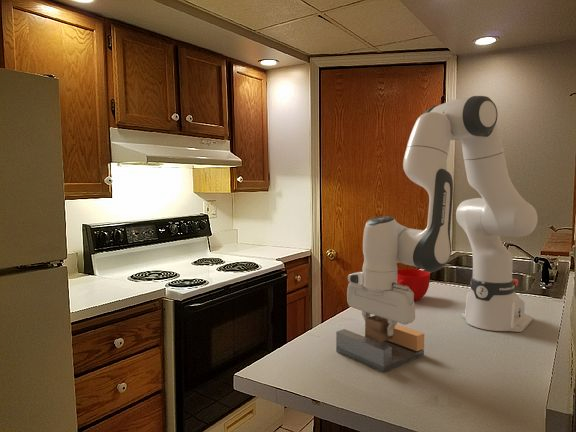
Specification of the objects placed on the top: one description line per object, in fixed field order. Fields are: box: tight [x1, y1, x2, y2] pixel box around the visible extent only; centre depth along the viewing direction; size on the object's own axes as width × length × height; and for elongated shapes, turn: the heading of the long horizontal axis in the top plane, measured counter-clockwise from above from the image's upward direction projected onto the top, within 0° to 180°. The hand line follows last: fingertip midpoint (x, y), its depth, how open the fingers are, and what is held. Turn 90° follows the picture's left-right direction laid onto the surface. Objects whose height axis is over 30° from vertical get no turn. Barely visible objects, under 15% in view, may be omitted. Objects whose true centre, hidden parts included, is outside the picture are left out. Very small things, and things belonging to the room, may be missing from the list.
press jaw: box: [388, 323, 425, 351], centre depth 117 cm, size 3×16×4 cm, turn 38°
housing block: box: [364, 315, 393, 342], centre depth 113 cm, size 5×5×5 cm
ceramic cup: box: [397, 268, 431, 302], centre depth 161 cm, size 13×17×10 cm
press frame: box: [335, 328, 425, 374], centre depth 113 cm, size 16×16×6 cm
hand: (379, 331), depth 113 cm, fingers closed on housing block, 5 cm apart
